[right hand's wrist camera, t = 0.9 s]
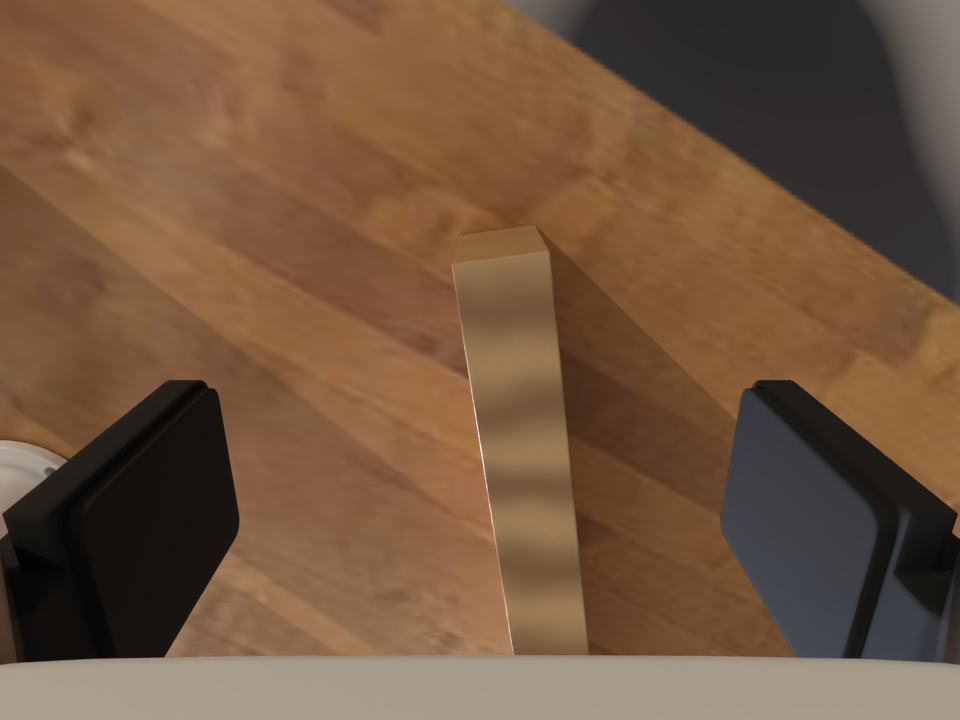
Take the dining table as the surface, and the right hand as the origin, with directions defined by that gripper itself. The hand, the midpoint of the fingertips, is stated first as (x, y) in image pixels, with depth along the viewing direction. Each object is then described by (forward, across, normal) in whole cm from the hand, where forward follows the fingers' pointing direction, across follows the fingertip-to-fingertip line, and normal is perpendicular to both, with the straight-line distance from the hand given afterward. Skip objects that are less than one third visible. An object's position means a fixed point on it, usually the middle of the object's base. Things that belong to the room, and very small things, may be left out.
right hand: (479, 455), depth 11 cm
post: (+28, +5, -30) cm, 41 cm away
